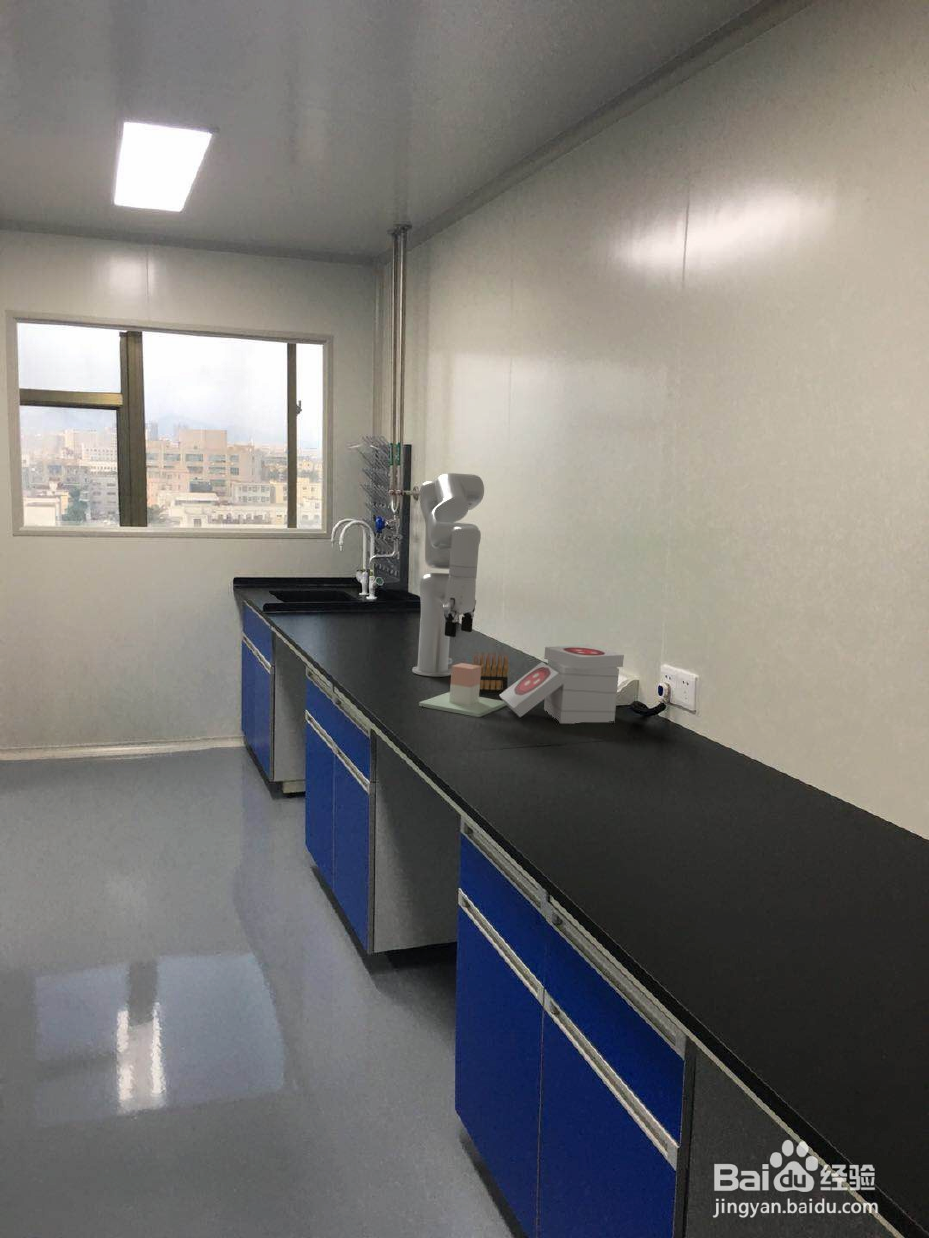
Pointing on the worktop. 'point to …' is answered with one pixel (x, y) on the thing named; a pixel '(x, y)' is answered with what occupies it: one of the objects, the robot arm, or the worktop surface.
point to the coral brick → (465, 675)
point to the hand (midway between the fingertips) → (458, 633)
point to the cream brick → (464, 694)
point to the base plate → (473, 710)
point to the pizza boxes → (570, 685)
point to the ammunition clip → (493, 674)
